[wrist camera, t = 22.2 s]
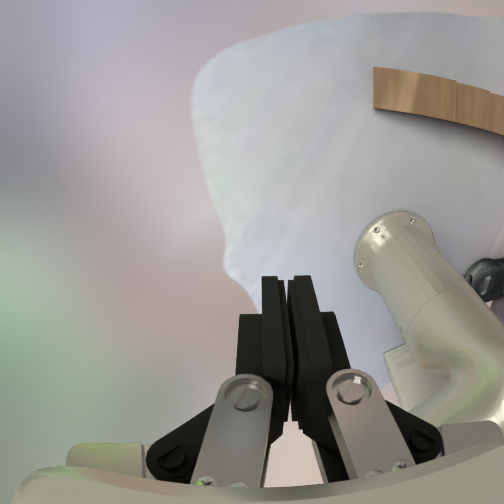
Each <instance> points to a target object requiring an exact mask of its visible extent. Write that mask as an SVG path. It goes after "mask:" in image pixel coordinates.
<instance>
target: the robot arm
mask: <svg viewBox="0 0 504 504" xmlns="http://www.w3.org/2000/svg"><path fill="white" fill-rule="evenodd" d="M354 264H355V269H356V271H357V274H358V276H359V278H360V279H361V281H362V282H363V283H364V284H365V285H366V286H367V287H369V288H370V289H372V290H375V291H378V292H380V294H381V296H382V298H383V300H384V301H385V303H386V305H387V307H388V309H389V311H390V313H391V315H392V317H393V319H394V321H395V323H396V325H397V327H398V329H399V331H400V333H401V335H402V337H403V339H404V341H405V343H406V346H407V347H408V349H409V352H410V354H411V356H412V357H413V359H414V360H415V361H416V363H417V364H418V365H419V366H421V367H422V368H423V369H425V370H427V371H429V372H432V373H435V374H438V375H443V376H448V377H449V378H448V379H447V381H446V382H445V383H444V384H443V385H442V386H440V387H439V388H438V389H437V390H436V391H435V392H434V393H433V394H431V395H430V396H429V397H428V398H426V399H425V400H424V401H422V402H421V403H420V404H418V405H417V406H415V407H414V408H413V409H411V410H410V411H408V412H407V411H405V410H403V409H401V408H400V407H398V406H396V405H394V404H392V403H390V402H388V401H386V400H385V399H384V398H383V396H382V394H381V392H380V390H379V388H378V386H377V384H376V382H375V381H374V380H373V378H372V377H371V376H370V375H368V374H367V373H366V372H363V371H361V370H357V369H351V367H350V364H349V360H348V356H347V353H346V349H345V346H344V343H343V339H342V336H341V332H340V329H339V326H338V322H337V319H336V316H335V314H334V312H320V310H319V306H318V302H317V298H316V294H315V291H314V287H313V283H312V279H311V276H310V275H303V276H294V280H288V293H287V302H286V294H285V286H284V280H278V277H277V276H262V314H240V317H239V331H238V346H237V359H236V360H237V361H236V374H235V376H233V377H231V378H229V379H227V380H226V381H225V382H224V383H223V384H222V385H221V387H220V389H219V391H218V394H217V397H216V401H215V403H214V404H213V405H211V406H210V407H208V408H207V409H205V410H204V411H202V412H201V413H199V414H198V415H196V416H195V417H194V418H192V419H190V420H189V421H187V422H186V423H184V424H183V425H181V426H180V427H178V428H177V429H175V430H173V431H172V432H170V433H169V434H167V435H166V436H164V437H162V438H161V439H159V440H157V441H156V442H155V443H154V444H152V445H142V443H82V444H78V445H76V446H74V447H72V449H71V450H70V451H69V452H68V455H67V459H66V466H58V467H48V468H44V469H40V470H37V471H34V472H33V473H31V474H30V475H28V476H27V477H26V478H25V479H24V480H23V482H22V483H21V484H20V486H19V488H18V490H17V492H16V494H15V496H14V498H13V501H12V503H11V504H504V324H503V323H502V322H501V321H500V320H499V319H498V317H497V316H496V315H495V314H494V313H493V312H492V310H491V309H490V308H489V307H488V306H487V305H486V303H485V302H484V301H483V300H482V299H481V297H480V296H479V295H478V294H477V293H476V291H475V290H474V289H473V288H472V287H471V286H470V285H469V283H468V282H467V281H466V280H465V279H464V278H463V276H462V275H461V274H460V273H459V272H458V271H457V270H456V269H455V268H454V266H453V265H452V264H451V263H450V262H449V261H448V260H447V259H446V258H445V257H444V256H443V255H442V253H441V252H440V251H439V250H438V249H437V248H436V247H435V246H434V237H433V233H432V231H431V229H430V227H429V225H428V224H427V223H426V222H425V221H424V220H423V219H422V218H421V217H419V216H418V215H416V214H414V213H411V212H407V211H397V212H391V213H389V214H386V215H383V216H382V217H380V218H378V219H376V220H375V221H374V222H373V223H372V224H370V225H369V226H368V227H367V229H366V230H365V231H364V232H363V234H362V235H361V237H360V239H359V241H358V243H357V246H356V249H355V254H354ZM290 402H291V413H292V421H298V425H299V429H303V434H305V435H306V436H308V437H310V438H311V439H312V446H313V449H314V452H315V456H316V459H317V462H318V466H319V469H320V472H321V476H322V479H323V482H324V484H316V485H305V486H292V487H270V488H264V483H265V478H266V472H267V466H268V460H269V454H270V448H271V444H272V443H273V442H274V441H275V440H276V439H278V438H279V437H280V436H281V435H282V433H283V425H284V422H287V421H288V413H289V405H290Z"/></svg>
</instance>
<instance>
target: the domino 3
mask: <svg viewBox="0 0 504 504" xmlns="http://www.w3.org/2000/svg"><path fill="white" fill-rule="evenodd" d="M488 130H489V131H492V132H495V133H499V134H502V135H504V96H500V95H497V94H493V93H490V106H489V124H488Z"/></svg>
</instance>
